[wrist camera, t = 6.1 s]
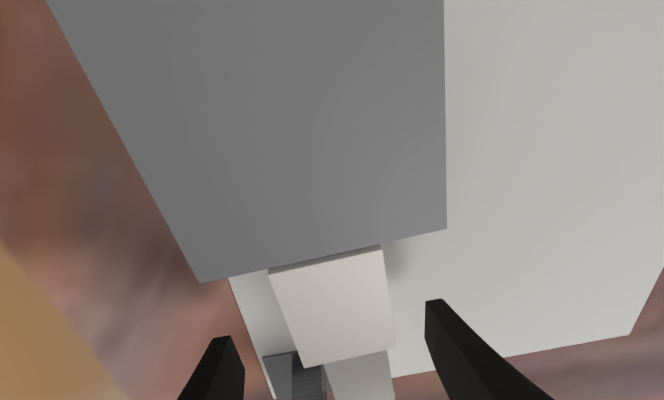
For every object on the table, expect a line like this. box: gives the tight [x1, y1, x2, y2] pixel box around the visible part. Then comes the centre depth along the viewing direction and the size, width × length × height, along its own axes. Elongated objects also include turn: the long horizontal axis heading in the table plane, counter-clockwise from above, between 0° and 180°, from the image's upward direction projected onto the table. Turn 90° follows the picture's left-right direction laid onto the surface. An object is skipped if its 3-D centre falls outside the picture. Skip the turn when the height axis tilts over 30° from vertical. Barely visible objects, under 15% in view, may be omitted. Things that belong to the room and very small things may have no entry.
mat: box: [228, 0, 664, 399], centre depth 13 cm, size 20×18×1 cm
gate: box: [45, 0, 447, 400], centre depth 9 cm, size 17×3×6 cm, turn 11°
